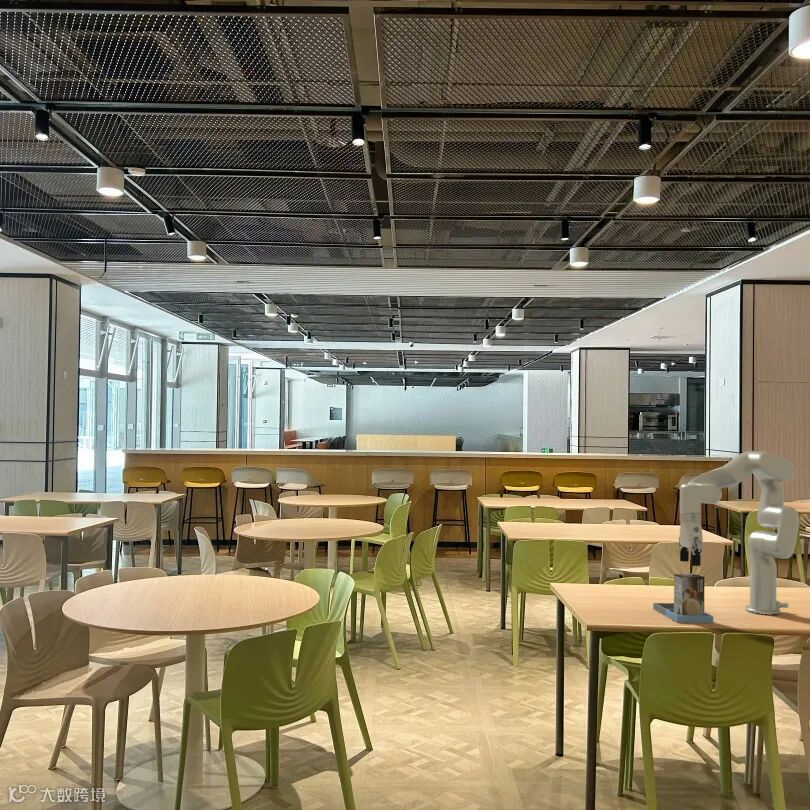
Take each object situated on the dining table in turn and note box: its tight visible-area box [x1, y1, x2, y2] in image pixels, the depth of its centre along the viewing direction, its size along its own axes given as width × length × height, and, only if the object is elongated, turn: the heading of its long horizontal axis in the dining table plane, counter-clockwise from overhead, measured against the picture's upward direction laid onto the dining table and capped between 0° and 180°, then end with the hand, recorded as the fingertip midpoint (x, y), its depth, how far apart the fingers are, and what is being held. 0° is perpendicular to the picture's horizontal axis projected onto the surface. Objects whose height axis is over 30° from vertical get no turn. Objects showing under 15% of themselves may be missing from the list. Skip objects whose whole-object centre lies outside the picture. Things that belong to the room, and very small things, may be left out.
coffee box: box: [673, 573, 705, 616], centre depth 295 cm, size 9×6×16 cm
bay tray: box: [652, 602, 714, 624], centre depth 300 cm, size 14×22×2 cm, turn 5°
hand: (690, 563), depth 296 cm, fingers open, 9 cm apart
